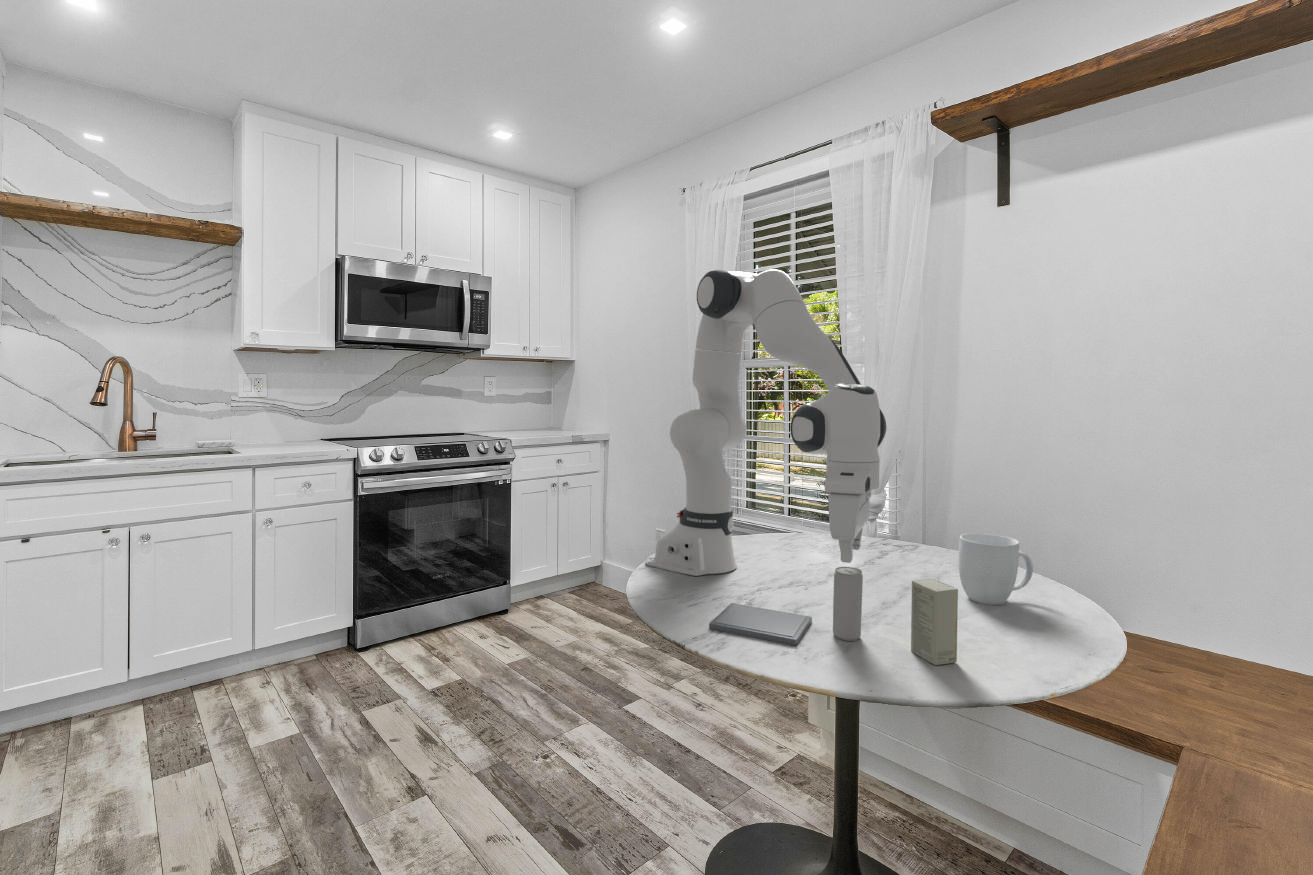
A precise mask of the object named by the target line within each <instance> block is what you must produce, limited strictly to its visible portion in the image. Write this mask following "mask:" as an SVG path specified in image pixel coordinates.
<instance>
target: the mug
mask: <svg viewBox="0 0 1313 875" xmlns="http://www.w3.org/2000/svg"><path fill="white" fill-rule="evenodd" d="M1020 557H1022V558H1023V559H1024V562H1025V566H1026V567H1025V572H1024V576H1023V577H1022V579H1021V580H1020V581H1019V582H1018V583H1016V581H1017V576H1018V570H1019V564H1020V563H1019V561H1020V560H1019V559H1020ZM958 574H959V580H960V583H961V586H962V589H963V591H964V592H965V594H966V597H968V599H970V600H971V601H972V602H975V603H978V604H981V605H989V606H991V605H992V606H1000V605H1003V604H1004V603H1005V602H1006V601H1007V600H1008V599H1009V597H1010V596H1011V595H1012V594H1011V593H1012V592H1013V591H1017V590H1021V589H1023V588H1025V586H1027V585H1028V584H1029V582H1030V580H1031V579H1032V576H1033V574H1034V564H1033V561H1032V559H1031V557H1030V556H1029V555H1028V554H1027V553H1025V552H1023V551H1022V550H1020V542H1019V540H1017V539H1015V538H1013V537H1009V536H1005V535H999V534H992V533H985V532H981V533H980V532H971V533H969V532H968V533H963V534H961V535H959V542H958Z"/></svg>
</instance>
